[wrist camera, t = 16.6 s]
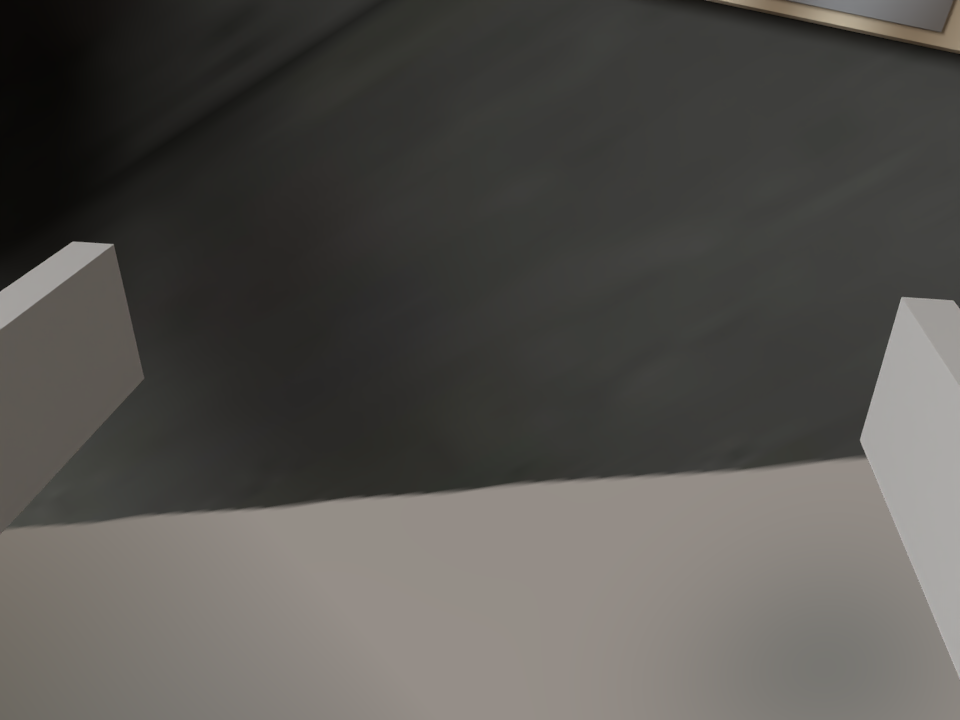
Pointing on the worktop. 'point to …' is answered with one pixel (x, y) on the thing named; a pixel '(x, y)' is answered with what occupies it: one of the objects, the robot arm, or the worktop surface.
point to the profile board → (874, 18)
